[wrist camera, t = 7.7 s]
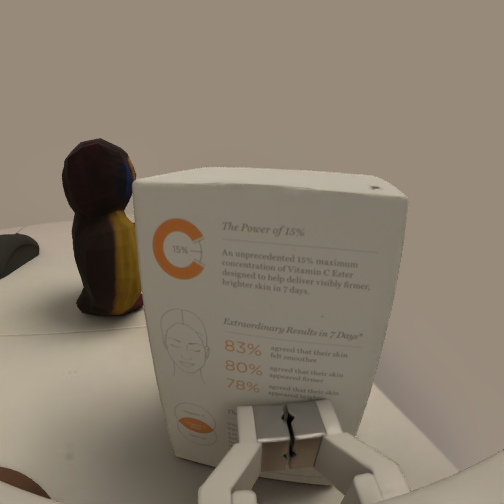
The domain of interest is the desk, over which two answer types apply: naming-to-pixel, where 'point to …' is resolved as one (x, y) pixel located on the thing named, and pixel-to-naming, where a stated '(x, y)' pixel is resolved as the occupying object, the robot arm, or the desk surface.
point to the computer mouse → (16, 252)
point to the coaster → (21, 482)
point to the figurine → (103, 227)
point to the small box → (264, 295)
